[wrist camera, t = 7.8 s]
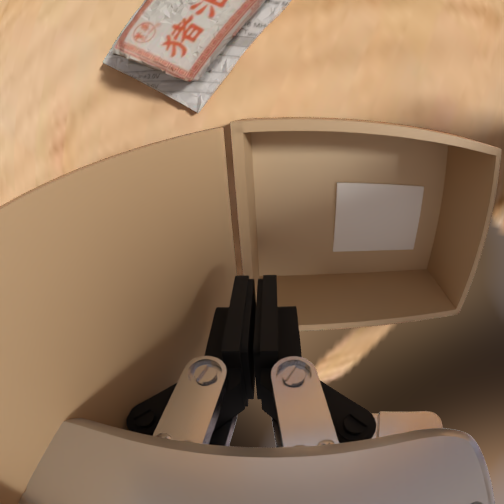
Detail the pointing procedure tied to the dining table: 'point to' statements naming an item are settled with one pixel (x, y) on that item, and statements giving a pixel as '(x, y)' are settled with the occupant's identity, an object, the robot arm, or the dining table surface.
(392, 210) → the mailer box
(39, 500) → the robot arm
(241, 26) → the packaged product
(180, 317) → the lid
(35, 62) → the dining table surface
